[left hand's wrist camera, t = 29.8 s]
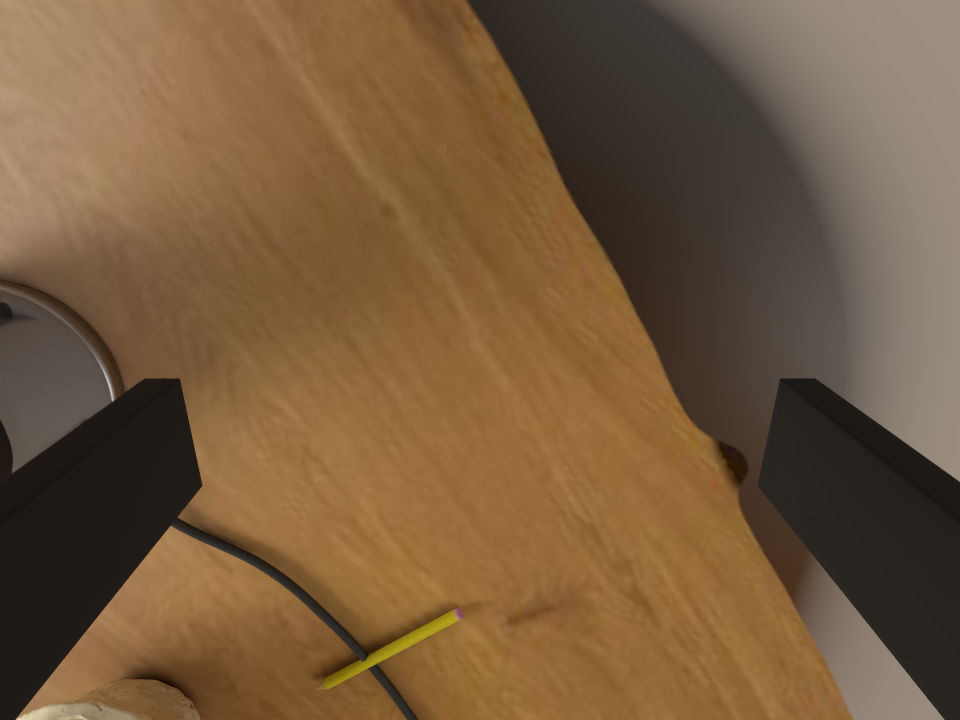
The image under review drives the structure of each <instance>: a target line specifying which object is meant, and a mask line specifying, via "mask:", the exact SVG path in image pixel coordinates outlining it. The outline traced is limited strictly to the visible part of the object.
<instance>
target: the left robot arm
mask: <svg viewBox="0 0 960 720" xmlns="http://www.w3.org/2000/svg"><path fill="white" fill-rule="evenodd" d="M201 487H202V481H201V477H200V472H199V467H198V462H197V458H196V453H195V448H194V444H193V439H192V434H191V429H190V425H189V420H188V415H187V411H186V406H185V401H184V396H183V392H182V387H181V382H180V379H143V380H142V381H141V382H139V383H138V384H136V385H135V386H134V387H132V388H131V389H129V390H128V391H127V392H125V393H124V387H123V382H122V378H121V375H120V372H119V370H118V367H117V365H116V362H115V361H114V359H113V357H112V355H111V353H110V351H109V350H108V348H107V347H106V345H105V344H104V342H103V341H102V340H101V338H100V337H99V336H98V335H97V334H96V332H95V331H94V330H93V329H92V328H91V327H90V326H89V325H88V324H87V323H86V322H85V321H84V320H83V319H82V318H80V317H79V316H78V315H77V314H76V313H74V312H73V311H72V310H70V309H69V308H68V307H66V306H65V305H63V304H62V303H60V302H58V301H57V300H55V299H53V298H51V297H49V296H47V295H45V294H43V293H41V292H39V291H36V290H34V289H31V288H28V287H25V286H22V285H18V284H14V283H10V282H3V281H0V720H15V719H16V718H17V717H18V716H19V714H20V713H21V712H22V711H23V709H24V708H25V707H26V706H27V704H28V703H29V702H30V701H31V699H32V698H33V697H34V696H35V694H36V693H37V692H38V691H39V689H40V688H41V687H42V686H43V684H44V683H45V682H46V681H47V679H48V678H49V677H50V676H51V674H52V673H53V672H54V671H55V669H56V668H57V667H58V666H59V664H60V663H61V662H62V661H63V659H64V658H65V657H66V656H67V654H68V653H69V652H70V651H71V649H72V648H73V647H74V646H75V644H76V643H77V642H78V641H79V639H80V638H81V637H82V636H83V634H84V633H85V632H86V631H87V629H88V628H89V627H90V626H91V624H92V623H93V622H94V621H95V619H96V618H97V617H98V616H99V614H100V613H101V612H102V611H103V609H104V608H105V607H106V606H107V604H108V603H109V602H110V601H111V599H112V598H113V597H114V596H115V594H116V593H117V592H118V591H119V589H120V588H121V587H122V586H123V584H124V583H125V582H126V581H127V579H128V578H129V577H130V576H131V574H132V573H133V572H134V571H135V569H136V568H137V567H138V566H139V564H140V563H141V562H142V561H143V559H144V558H145V557H146V556H147V554H148V553H149V552H150V551H151V549H152V548H153V547H154V546H155V544H156V543H157V542H158V541H159V539H160V538H161V537H162V536H163V534H164V533H165V532H166V531H167V529H168V528H169V527H170V526H172V527H174V528H176V529H178V530H179V531H181V532H183V533H185V534H187V535H189V536H191V537H193V538H195V539H197V540H199V541H202V542H204V543H206V544H208V545H211V546H213V547H215V548H218V549H220V550H222V551H224V552H227V553H229V554H231V555H233V556H235V557H237V558H239V559H242V560H243V561H245V562H247V563H249V564H251V565H253V566H254V567H256V568H258V569H259V570H261V571H263V572H264V573H266V574H267V575H269V576H270V577H272V578H273V579H275V580H276V581H277V582H279V583H280V584H282V585H283V586H284V587H285V588H287V589H288V590H289V591H291V592H292V593H293V594H294V595H295V596H297V597H298V598H299V599H300V600H301V601H302V602H303V603H304V604H305V605H307V606H308V607H309V608H310V609H311V610H312V611H313V612H314V613H315V614H316V615H317V616H318V617H319V618H320V619H321V620H322V621H323V622H325V623H326V624H327V625H328V626H329V627H330V628H331V629H332V630H333V631H334V632H335V633H336V634H337V635H338V636H339V637H340V638H341V639H342V640H343V641H344V642H345V643H346V644H347V645H348V646H349V647H350V648H351V649H352V651H353V652H354V653H355V654H356V655H357V656H358V657H359V658H360V659H361V661H362V662H364V661H365V660H366V659H367V657H368V654H367V653H366V652H365V651H364V649H363V648H362V647H361V646H360V645H359V644H358V643H357V642H356V641H355V639H354V638H353V637H352V636H351V635H350V634H349V633H348V632H347V631H346V630H345V629H344V628H343V627H342V626H341V625H340V624H339V623H338V622H337V621H336V620H335V619H334V618H333V617H332V616H331V615H330V614H329V613H328V612H326V611H325V610H324V609H323V608H322V607H321V606H320V605H319V604H318V603H317V602H316V601H315V600H314V599H313V598H312V597H311V596H310V595H309V594H307V593H306V592H305V591H304V590H303V589H302V588H301V587H300V586H298V585H297V584H296V583H295V582H293V581H292V580H291V579H290V578H288V577H287V576H286V575H284V574H283V573H282V572H280V571H279V570H277V569H276V568H274V567H273V566H271V565H270V564H268V563H267V562H265V561H264V560H262V559H260V558H258V557H257V556H255V555H253V554H251V553H249V552H247V551H245V550H243V549H241V548H239V547H237V546H235V545H233V544H231V543H228V542H226V541H224V540H221V539H219V538H217V537H215V536H212V535H210V534H208V533H206V532H204V531H202V530H199V529H197V528H195V527H193V526H191V525H189V524H188V523H186V522H184V521H182V520H180V519H179V518H177V517H178V516H179V514H180V513H181V512H182V511H183V509H184V508H185V507H186V506H187V504H188V503H189V502H190V501H191V499H192V498H193V497H194V496H195V494H196V493H197V492H198V491H199V489H200V488H201ZM758 487H759V488H760V489H761V490H762V492H763V493H764V494H765V496H766V497H767V498H768V499H769V501H770V502H771V503H772V504H773V506H774V507H775V508H776V509H777V511H778V512H779V513H780V514H781V516H782V517H783V518H784V519H785V521H786V522H787V523H788V524H789V526H790V527H791V528H792V529H793V531H794V532H795V533H796V534H797V536H798V537H799V538H800V539H801V541H802V542H803V543H804V544H805V546H806V547H807V548H808V549H809V551H810V552H811V553H812V554H813V556H814V557H815V558H816V559H817V561H818V562H819V563H820V564H821V566H822V567H823V568H824V569H825V571H826V572H827V573H828V574H829V576H830V577H831V578H832V579H833V581H834V582H835V583H836V584H837V586H838V587H839V588H840V589H841V591H842V592H843V593H844V594H845V596H846V597H847V598H848V599H849V601H850V602H851V603H852V604H853V606H854V607H855V608H856V609H857V611H858V612H859V613H860V614H861V616H862V617H863V618H864V619H865V621H866V622H867V623H868V624H869V626H870V627H871V628H872V629H873V631H874V632H875V633H876V634H877V636H878V637H879V638H880V639H881V641H882V642H883V643H884V644H885V646H886V647H887V648H888V649H889V651H890V652H891V653H892V654H893V656H894V657H895V658H896V659H897V661H898V662H899V663H900V664H901V666H902V667H903V668H904V669H905V671H906V672H907V673H908V674H909V676H910V677H911V678H912V679H913V681H914V682H915V683H916V684H917V686H918V687H919V688H920V689H921V691H922V692H923V693H924V694H925V696H926V697H927V698H928V699H929V701H930V702H931V703H932V704H933V706H934V707H935V708H936V709H937V711H938V712H939V713H940V714H941V716H942V717H943V718H944V719H945V720H960V482H959V481H958V480H956V479H955V478H954V477H952V476H951V475H949V474H948V473H947V472H945V471H944V470H942V469H941V468H940V467H938V466H937V465H935V464H934V463H933V462H931V461H930V460H928V459H927V458H926V457H924V456H923V455H921V454H920V453H919V452H917V451H916V450H914V449H913V448H912V447H910V446H909V445H908V444H906V443H905V442H903V441H902V440H901V439H899V438H898V437H896V436H895V435H894V434H892V433H891V432H889V431H888V430H887V429H885V428H884V427H882V426H881V425H880V424H878V423H877V422H875V421H874V420H873V419H871V418H870V417H868V416H867V415H866V414H864V413H863V412H861V411H860V410H859V409H857V408H856V407H854V406H853V405H852V404H850V403H849V402H847V401H846V400H845V399H843V398H842V397H840V396H839V395H838V394H836V393H835V392H833V391H832V390H831V389H829V388H828V387H826V386H825V385H824V384H822V383H821V382H819V381H818V380H817V379H780V382H779V387H778V392H777V397H776V402H775V406H774V411H773V415H772V420H771V425H770V429H769V434H768V439H767V444H766V448H765V453H764V458H763V462H762V467H761V472H760V477H759V481H758ZM368 669H369V670H370V671H371V672H372V674H373V675H374V676H375V677H376V678H377V680H378V681H379V682H380V683H381V684H382V686H383V687H384V688H385V689H386V691H387V692H388V693H389V695H390V696H391V697H392V699H393V700H394V701H395V703H396V704H397V705H398V707H399V708H400V710H401V711H402V712H403V714H404V715H405V717H406V718H407V719H408V720H418V719H417V718H416V716H415V715H414V713H413V712H412V711H411V709H410V708H409V706H408V705H407V703H406V702H405V701H404V699H403V698H402V696H401V695H400V694H399V692H398V691H397V690H396V688H395V687H394V686H393V684H392V683H391V682H390V681H389V679H388V678H387V677H386V676H385V674H384V673H383V672H382V671H381V670H380V668H379V667H378V666H377V665H376V664H375V665H373V666H371V667H369V668H368Z"/></svg>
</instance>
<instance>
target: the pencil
mask: <svg viewBox="0 0 960 720" xmlns="http://www.w3.org/2000/svg"><path fill="white" fill-rule="evenodd" d="M462 618H463V613H462V611H461V609H460V608H456V609H454V610H452V611H450V612H448V613H446V614H444V615H442V616H441V617H439V618H437V619H435V620H433V621H431V622H429V623H427V624H426V625H424V626H422V627H420V628H418V629H416V630H414V631H412V632H411V633H409V634H407V635H405V636H403V637H401V638H399V639H397V640H396V641H394V642H392V643H390V644H388V645H386V646H384V647H382V648H381V649H379V650H377V651H375V652H373V653H371V654H369V655H368V657H367V659H366V660H365V661H364V662H362V661H361V659H360V660H358V661H356V662H354V663H353V664H351V665H349V666H347V667H345V668H343V669H341V670H339V671H338V672H336V673H334V674H332V675H330V676H328V677H326V678H325V679H324V681H323V682H322V683H321V684H320V685H319V686H318V687H317V688H316V690H319V689H329V688H331V687H333V686H335V685H337V684H339V683H341V682H343V681H345V680H347V679H349V678H350V677H352V676H354V675H356V674H358V673H360V672H362V671H364V670H366V669H368V668H369V667H371V666H373V665H375V664H377V663H379V662H381V661H383V660H385V659H386V658H388V657H390V656H392V655H394V654H396V653H398V652H400V651H402V650H404V649H405V648H407V647H409V646H411V645H413V644H415V643H417V642H419V641H421V640H423V639H424V638H426V637H428V636H430V635H432V634H434V633H436V632H438V631H440V630H442V629H443V628H445V627H447V626H449V625H451V624H453V623H455V622H457V621H459V620H461V619H462Z"/></svg>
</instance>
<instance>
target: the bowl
mask: <svg viewBox="0 0 960 720" xmlns="http://www.w3.org/2000/svg"><path fill="white" fill-rule="evenodd" d="M16 720H201V719H200V715H199V714H198V712H197V710H196V708H195V707H194V704H193V703H192V701H190V699H187V698H186V697H185V696H184V695H183V693H181V692H180V691H179V690H178V689H177V688H174V687H171V686H169V685H167V684H164V683H162V682H160V681H157V680H144V679H139V680H130V679H123V680H119V681H115V682H111V683H108V684H105V685H103V686H101V687H99V688H97V689H95V690H92V691H90V692H86V693H84V694H81V695H79V696H77V697H75V698H74V699H72V700H70V701H63V702H56V703H51V704H49V705H45V706H43V707H40V708H38V709H35V710H34V711H32V712H29V713H27V714H25V715H23V716H21V717H19V718H18V719H16Z"/></svg>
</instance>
